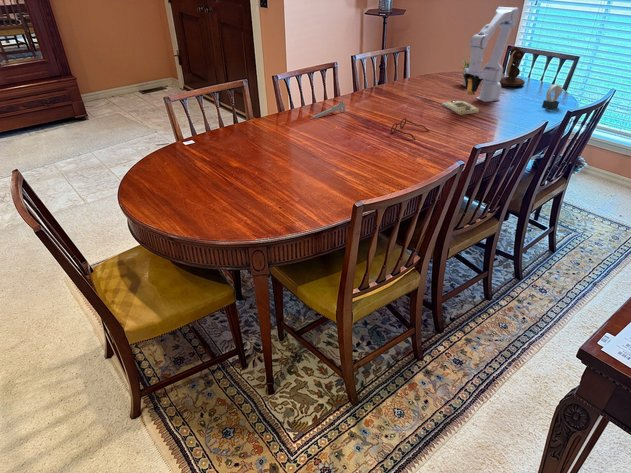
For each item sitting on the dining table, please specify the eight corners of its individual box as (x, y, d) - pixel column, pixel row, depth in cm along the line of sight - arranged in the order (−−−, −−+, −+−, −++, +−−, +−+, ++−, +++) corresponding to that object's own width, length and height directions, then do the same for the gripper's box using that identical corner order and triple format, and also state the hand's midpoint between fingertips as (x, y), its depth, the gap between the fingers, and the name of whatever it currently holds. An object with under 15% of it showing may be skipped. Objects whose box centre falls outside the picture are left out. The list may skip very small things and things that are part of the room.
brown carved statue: (494, 82, 261) (501, 46, 249) (520, 82, 259) (528, 46, 247) (499, 88, 248) (506, 51, 237) (526, 88, 246) (535, 51, 235)
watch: (560, 107, 218) (566, 84, 211) (549, 110, 215) (555, 87, 208) (550, 104, 222) (556, 82, 216) (539, 107, 219) (545, 85, 213)
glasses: (404, 126, 204) (404, 116, 201) (429, 132, 197) (430, 121, 194) (389, 135, 196) (390, 124, 193) (415, 141, 189) (416, 130, 186)
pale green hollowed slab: (459, 102, 230) (460, 97, 228) (478, 112, 215) (479, 107, 214) (442, 104, 228) (442, 99, 226) (460, 115, 213) (461, 109, 212)
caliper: (344, 112, 225) (344, 99, 222) (345, 112, 224) (345, 100, 221) (310, 119, 217) (309, 107, 214) (311, 120, 216) (310, 107, 213)
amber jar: (472, 91, 221) (474, 76, 217) (477, 94, 217) (480, 79, 213) (463, 93, 220) (465, 78, 216) (469, 95, 216) (471, 80, 212)
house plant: (484, 88, 249) (490, 58, 240) (460, 89, 250) (464, 59, 241) (477, 82, 261) (482, 53, 252) (454, 83, 262) (458, 54, 253)
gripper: (460, 59, 215) (456, 87, 222) (476, 65, 203) (472, 94, 211) (472, 58, 216) (468, 86, 224) (490, 64, 205) (484, 93, 212)
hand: (471, 90), depth 217 cm, fingers closed on amber jar, 5 cm apart
